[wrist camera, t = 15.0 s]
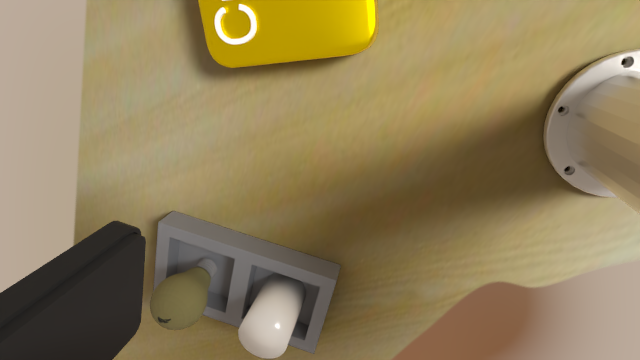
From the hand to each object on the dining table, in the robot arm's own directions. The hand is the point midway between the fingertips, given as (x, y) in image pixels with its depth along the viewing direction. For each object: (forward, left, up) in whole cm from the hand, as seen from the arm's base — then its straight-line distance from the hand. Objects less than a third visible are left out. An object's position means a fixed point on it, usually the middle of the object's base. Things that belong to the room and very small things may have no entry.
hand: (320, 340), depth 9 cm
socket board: (+10, +24, -30) cm, 40 cm away
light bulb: (+15, +24, -30) cm, 41 cm away
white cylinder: (+5, +24, -30) cm, 39 cm away
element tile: (+12, -9, -31) cm, 34 cm away
